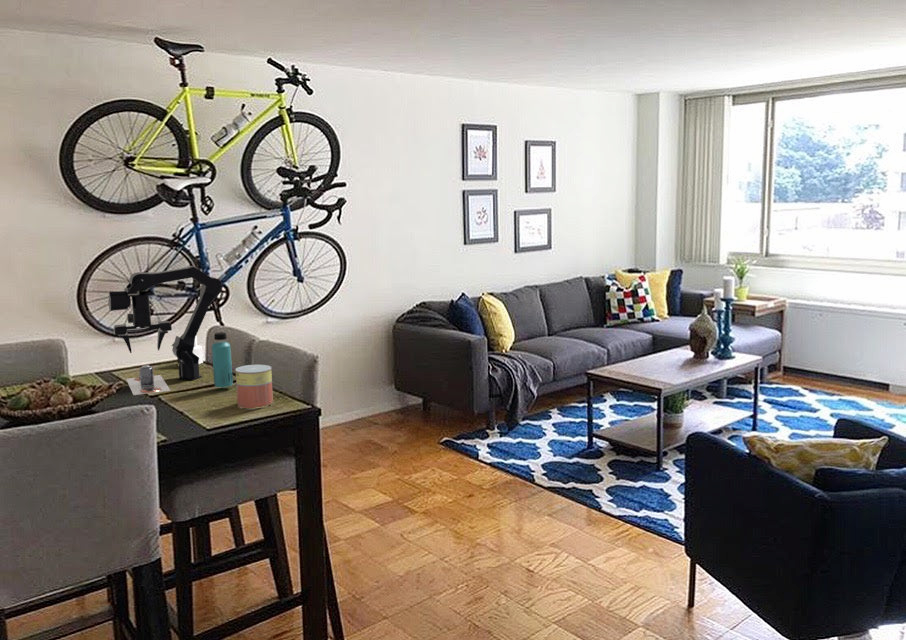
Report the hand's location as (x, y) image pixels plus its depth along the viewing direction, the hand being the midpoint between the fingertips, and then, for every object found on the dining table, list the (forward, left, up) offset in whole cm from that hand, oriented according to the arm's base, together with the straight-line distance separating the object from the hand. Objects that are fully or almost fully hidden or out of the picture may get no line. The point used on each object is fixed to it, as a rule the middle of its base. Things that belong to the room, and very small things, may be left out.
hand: (144, 351), depth 273 cm
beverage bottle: (-31, -1, -12) cm, 33 cm away
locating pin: (0, 0, -12) cm, 12 cm away
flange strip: (-1, +1, -12) cm, 12 cm away
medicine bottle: (+4, -31, -12) cm, 34 cm away
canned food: (-52, +13, -12) cm, 55 cm away
